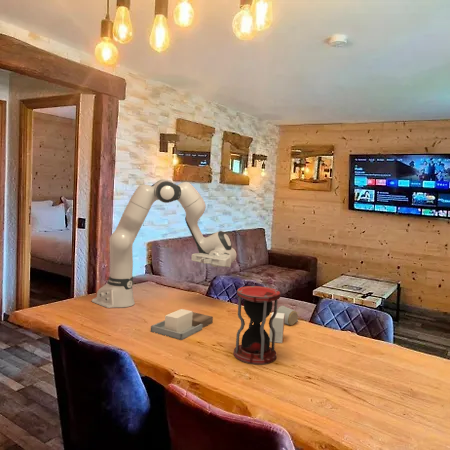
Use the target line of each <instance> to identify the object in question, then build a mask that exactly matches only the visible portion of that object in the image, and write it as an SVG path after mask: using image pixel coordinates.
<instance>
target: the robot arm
mask: <svg viewBox="0 0 450 450" xmlns="http://www.w3.org/2000/svg"><path fill="white" fill-rule="evenodd" d="M156 201H160V202H162V203H165V204H167V203H169V204H170V203H172V202H174V201H175V202H176V201H178V202H179V203H180V205H181V206H182V208H183V210H184V212H185V219H184V220H185V223H186V226H187V228H188V230H189V232H190V234H191V236H192V238H193V240H194V242H195V244H196V245H195V246H196V249H197V251H198V252H196V253H192V254H191V261H192V262H197V263H200V264H204V265H205V264H207V265H210V266H211V267H214V268H218V267H219V268H220V267H222V268H223V267H224V268H230V267H232V263H233V262H235V260H236V258H237V252H236V249H235V248H233V247H232V240H231V237H230V236H229V235H228V234H227V233H226V232H225V231H222V230H219V231H216V232H214V233H212V234H211V235H208V236H207V237H204V235H203V233H202V230H201V229H200V227H199V224H198V222H199V220H200V219H201V217H202V216H203V214H204V213H205V211H206V207H207V206H206V202H205V200H204V199H203V197H202V196H201V194H200V193H199V192H198V190H197V189H196V188H195V187H194V185H192V184H191V183H190V182H188V181H183V182H181V183H179V184H176V183H174V182H172V181H170V180H168V179H160V180H158V181H156V182H155V183H153V184H152V185H150V184H148V183H147V184H146V183H143V184H140V185H138V186H137V188H136V189H135V191H134V192H133V194H132V195H131V197H130V199H129V201H128V203H127V205H126V207H125V209H124V211H123V212H122V214H121V217H120V219H119V222H118V224H117V226H116V228H115V229H114V231H113V232H112V234H111V235H110V237H109V259H110V266H109V267H110V269H109V272H110V275H109V276H108V277H107V276H106V278H105V280H106V281H107V282H106V283H105V284H104V285H103V286H101V287H100V288H98V290H97V291H96V297H94V298H91V302H92V303H94V304H97V305H99V306H101V307H104V308H107V309H109V308H110V309H111V308H128V307H131V306H134V305H135V303H136V302H135V299H134V291H133V290H134V289H133V284H134V276H133V268H134V267H133V266H134V260H133V257H134V256H133V244H134V242H135V240H136V238H137V236H138V234H139V232H140V230H141V228H142V226H143V225H144V221H145V219H147V216H148V214H149V212H150V210H151V208H152V206H153V205H154V203H155V202H156Z"/></svg>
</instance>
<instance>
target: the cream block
mask: <svg viewBox="0 0 450 450" xmlns="http://www.w3.org/2000/svg"><path fill="white" fill-rule="evenodd" d="M193 312H194V310H188V309H184V308H180V309H178V310H176V311H173V312H171V313H168V314H166V315H165V316H164V320H165V329H167V330H171V331H175V332H179V333H181V332H183V331H185V330H187V329H189V328H191V327H192V314H193Z"/></svg>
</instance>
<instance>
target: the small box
mask: <svg viewBox="0 0 450 450" xmlns="http://www.w3.org/2000/svg"><path fill="white" fill-rule="evenodd" d="M273 313H274V311H271V315H270V318H271V317H272V316H273ZM270 318H269V319H270ZM284 319H285V313H277V314H276V316H275V318H274V319H273V322H272V326H273V328H274V329H275V343H278V344H283V340H284V330H285V323H284ZM268 336H269V338H270V343H272V330H271V328H270V327H269V333H268Z"/></svg>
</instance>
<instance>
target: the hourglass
mask: <svg viewBox="0 0 450 450" xmlns="http://www.w3.org/2000/svg"><path fill="white" fill-rule="evenodd" d="M236 294H237V296H238V302H237V303H238V304H237V317H238V319H239V320H240V327H239V329H238V330H237V331H236V339H235V347H234V348H233V356H234V358H236V360H238V361H240V362H243V363H247V364H251V365H266V364H270V363H273V362H274V361H275V360H276V359H277V352H276V350H275V344H276V342H275V329H274V328H273V326H272V322H273V319H274V318H275V316H276V314H277V309H278V300H279V299H281V292H280V290H277V289H275V288H272V287H267V286H259V285H249V286H246V285H245V286H241V287H239V288H238V289H237V290H236ZM242 300H243V309H244V312H245V314H246V316H247V317H248V318H249V324H248V328H247V329H246V330H245V331H244V328H245V324H246V323H245V319H244V318H243V316H242ZM273 302H274V303H273ZM273 304H274V305H273ZM272 310H273V312H274V313H273V316H272V317H271V316H270V314H272ZM269 316H270V317H271V318H269V321H268V327H269V329H270V328H271V330H272V342H270V338H269V333H268V332H267V331H266V330H265V324H266V321H267V318H268V317H269ZM242 331H244V333H243V334H242V337H241V342H240V336H241V332H242ZM240 343H241V344H240Z"/></svg>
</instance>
